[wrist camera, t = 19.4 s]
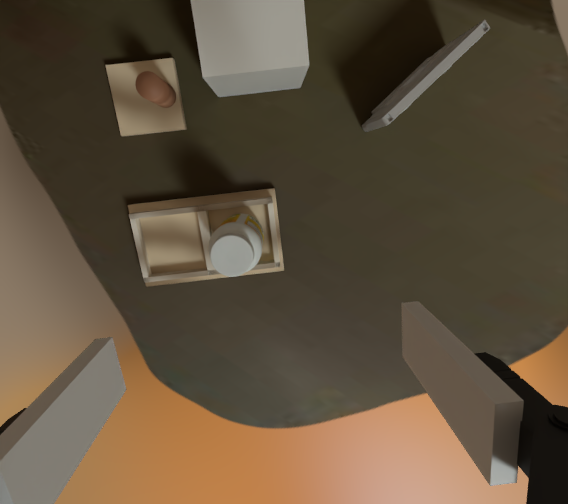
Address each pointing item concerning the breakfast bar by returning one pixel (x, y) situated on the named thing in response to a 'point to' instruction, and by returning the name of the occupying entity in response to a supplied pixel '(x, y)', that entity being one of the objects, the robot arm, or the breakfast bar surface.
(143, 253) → the beige divided tray
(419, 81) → the cassette
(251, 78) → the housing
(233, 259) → the supplement bottle
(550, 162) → the breakfast bar surface
